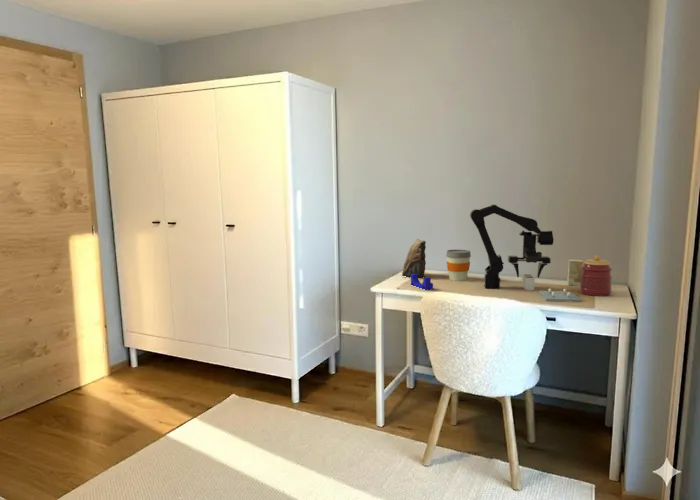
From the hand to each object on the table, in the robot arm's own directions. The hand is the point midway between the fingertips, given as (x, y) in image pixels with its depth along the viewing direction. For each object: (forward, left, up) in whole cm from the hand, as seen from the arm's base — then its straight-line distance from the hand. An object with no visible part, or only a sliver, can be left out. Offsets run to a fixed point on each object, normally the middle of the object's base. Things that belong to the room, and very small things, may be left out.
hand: (528, 277), depth 244 cm
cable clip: (-50, -3, -6) cm, 51 cm away
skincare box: (+24, +11, -6) cm, 27 cm away
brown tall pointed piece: (-55, +24, -6) cm, 61 cm away
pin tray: (+10, -18, -5) cm, 21 cm away
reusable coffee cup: (-32, +19, -6) cm, 37 cm away
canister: (+28, -8, -6) cm, 30 cm away
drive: (0, 0, -6) cm, 6 cm away
